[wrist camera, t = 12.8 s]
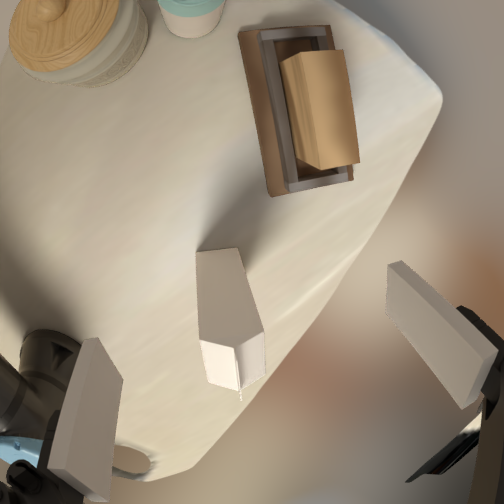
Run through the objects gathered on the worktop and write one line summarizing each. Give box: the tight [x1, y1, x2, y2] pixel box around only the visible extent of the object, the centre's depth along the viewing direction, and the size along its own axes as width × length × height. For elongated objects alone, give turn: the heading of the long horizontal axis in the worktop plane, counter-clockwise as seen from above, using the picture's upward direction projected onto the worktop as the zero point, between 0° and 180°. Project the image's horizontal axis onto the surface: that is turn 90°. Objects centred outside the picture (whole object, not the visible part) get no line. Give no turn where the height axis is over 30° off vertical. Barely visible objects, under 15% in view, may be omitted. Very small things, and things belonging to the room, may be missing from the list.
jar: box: [9, 0, 148, 88], centre depth 22 cm, size 13×13×18 cm
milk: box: [196, 247, 266, 401], centre depth 37 cm, size 6×6×22 cm
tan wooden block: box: [278, 50, 360, 170], centre depth 33 cm, size 5×12×10 cm, turn 11°
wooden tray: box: [238, 25, 354, 197], centre depth 37 cm, size 12×22×4 cm, turn 11°
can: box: [157, 0, 226, 38], centre depth 26 cm, size 7×7×12 cm
